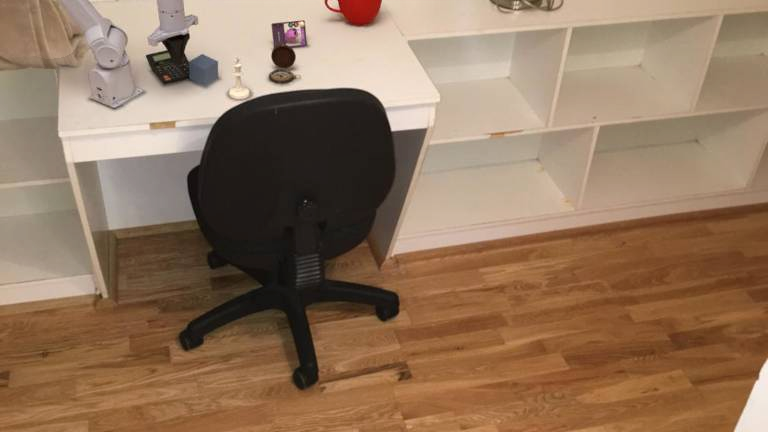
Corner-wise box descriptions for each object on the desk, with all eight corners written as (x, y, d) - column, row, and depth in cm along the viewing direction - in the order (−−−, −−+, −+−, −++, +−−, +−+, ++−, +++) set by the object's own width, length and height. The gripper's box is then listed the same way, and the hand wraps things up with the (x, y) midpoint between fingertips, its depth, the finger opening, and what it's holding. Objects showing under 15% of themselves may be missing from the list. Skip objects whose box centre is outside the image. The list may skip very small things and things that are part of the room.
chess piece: (224, 94, 191) (221, 57, 185) (238, 86, 194) (236, 50, 188) (240, 101, 189) (237, 64, 183) (254, 93, 192) (251, 56, 186)
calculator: (164, 85, 193) (162, 74, 191) (147, 64, 200) (145, 54, 198) (200, 76, 197) (199, 65, 195) (182, 56, 204) (180, 46, 202)
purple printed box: (272, 23, 207) (305, 20, 209) (268, 21, 211) (300, 18, 214) (274, 49, 209) (307, 46, 212) (270, 47, 214) (303, 43, 216)
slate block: (204, 86, 193) (204, 69, 190) (189, 79, 195) (188, 61, 191) (218, 78, 197) (218, 61, 193) (202, 70, 198) (202, 53, 195)
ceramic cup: (317, 15, 227) (317, -18, 221) (371, 8, 233) (373, -24, 227) (332, 35, 218) (332, 1, 212) (388, 27, 224) (390, -6, 218)
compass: (267, 83, 196) (266, 57, 191) (272, 68, 202) (271, 42, 198) (299, 86, 196) (298, 60, 191) (303, 70, 202) (303, 45, 197)
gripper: (161, 24, 170) (169, 79, 178) (206, 1, 180) (211, 55, 188) (137, 15, 172) (145, 70, 181) (182, -7, 182) (188, 47, 191)
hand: (177, 62), depth 185 cm, fingers closed
